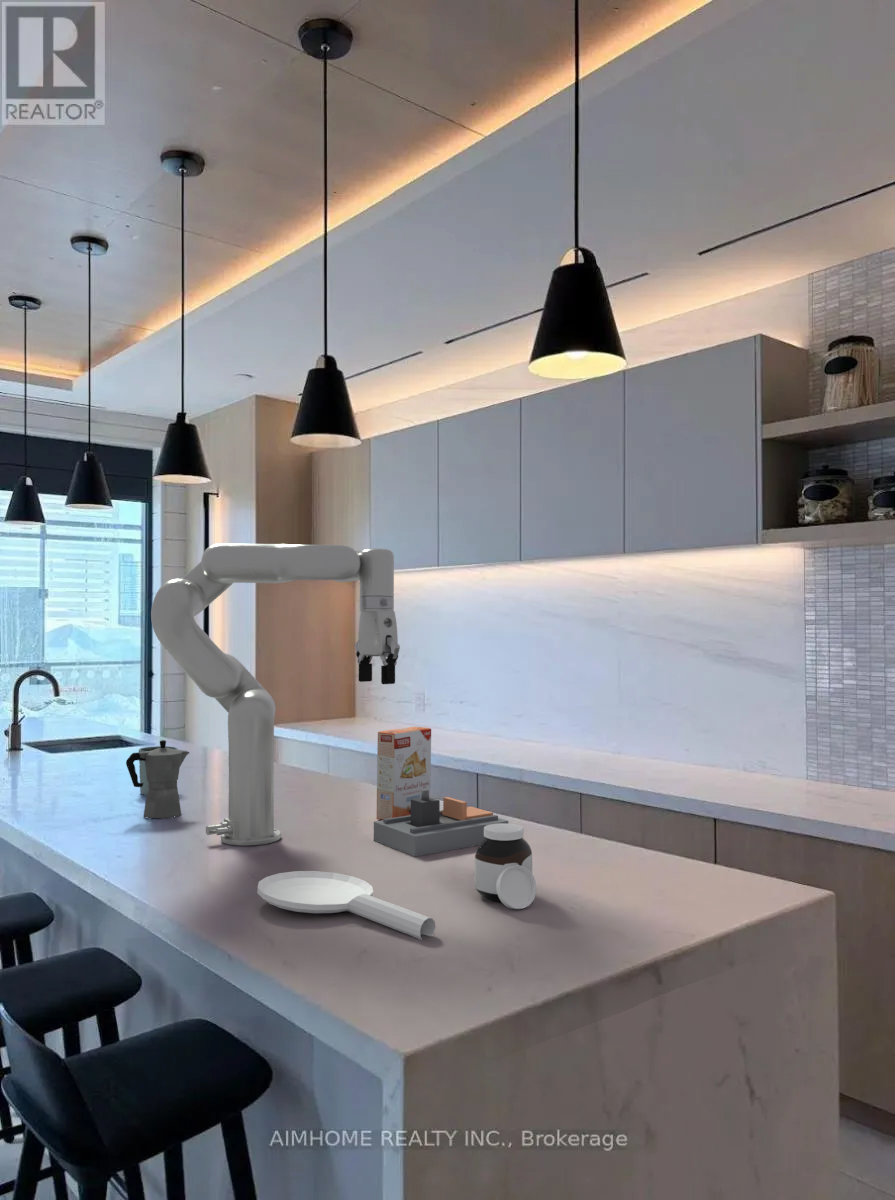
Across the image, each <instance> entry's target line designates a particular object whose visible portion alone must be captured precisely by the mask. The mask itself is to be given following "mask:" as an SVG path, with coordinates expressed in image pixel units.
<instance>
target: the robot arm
mask: <svg viewBox="0 0 895 1200" xmlns="http://www.w3.org/2000/svg"><path fill="white" fill-rule="evenodd" d="M394 558H395V555H394V552H392V550H390V549H387V548H366V549H363V550H355V549H354V548H352V547H351V546H348V545H344V544H343V545H340V544H288V543H240V542H239V543H237V542H236V543H234V542H233V543H231V542H229V543H228V542H223V543H222V542H221V543H214V544H212V545H210V546H208V547H207V548H205V550H204V551H203V554H202V555H201V561H200V562H198V564H197V565H195V566H194V567H193V568H192V569H191V570H189V572H187V573H185V575H184V576H183V577H181V578H173V579H170V580H167V581H166V582H164V583H163V584H162V585H161V586H160V587H159V589H158V590H157V592H156V594H155V596H154V598H153V602H152V605H151V610H150V619H151V625H152V629H153V632H154V634H155V636H156V638H157V640H158V641H159V642H160V644H161V645H162V647H163V648H164V649H165V650H166V651H167V653H168V654H169V655H170V656H171V657H172V658H173V660H175V662H176V663H177V665H179V666H180V668H181V669H182V670H183V671H184V672H185V673H186V675H188V677H189V678H190V679H191V680H192V682H194V684H195V685H196V686H197V687H198V689H200V691H201V692H202V694H204V695H206V696H207V697H210V698H214V699H215V700H216V702H218V703H219V704H220V705H221V707H222V708H223V709H224V710H225V711H226V712H227V713H228V714H227V737H228V817H225V818H223V821H222V822H220V824H212V825H211V824H210V825H206V826H205V833H206V835H207V836H212V835H216V836H220V841H221V843H223V844H226V845H231V846H238V847H239V846H240V847H242V846H246V847H247V846H248V847H249V846H261V845H267V844H272V843H274V842H277V841H278V840H281V837H282V833H281V830H279V829H276V828H275V826H274V824H275V823H274V821H275V820H274V819H275V814H274V813H275V812H274V811H275V809H274V808H275V800H274V799H275V715H276V703H275V700H274V698H273V697H272V696H271V694H270V693H269V692H268V691H267V690H266V689H265V687H264V686H263V685H262V684H261V683H260V682H259V681H258V679H257V678H256V677H254V675H253V674H252V673H251V672H250V671H249V670H248V669H247V668H246V666H244V664H243V663H242V662H241V661H239V660H238V658H236V657H234V656H233V655H231V654H229V653H225V652H224V651H223V650H221V648H219V646H218V645H216V644H215V642H214V641H213V640H212V639H211V637H210V636H209V635H208V634H207V633H206V632H205V631H204V630H203V629H202V628H201V627H200V625H199V624H198V623H197V621H196V619H195V616H197V615H199V614H200V613H201V612H203V611H204V610H205V609H206V608H207V607H208V606H210V605H211V604H212V603H213V602H214V601H216V599H217V598H218V597H220V595H221V596H222V594H223V593H224V592H225V591H227V589H229V588H230V587H231V586H232V585H233V584H235V583H236V584H237V583H238V584H239V583H240V584H241V583H243V584H244V583H245V584H249V583H250V584H284V583H289V582H293V581H312V580H313V581H314V580H315V581H317V580H318V581H320V580H321V581H334V582H338V583H348V582H356V581H359V612H360V613H359V620H358V621H359V622H358V635H357V636H358V637H357V638H358V639H357V641H356V642H355V644H354V648H355V652H356V653H355V655H356V658H357V664H358V682H360V683H364V682H365V683H367V682H373V663H371V662H372V659H373V658H374V657H379V658H380V660H381V662H382V665H380V667H381V669H380V671H381V672H380V675H381V676H380V680H381V681H380V682H381V685H395V684H396V666H397V660H398V658H399V652H400V649H401V646H400V643H399V641H398V639H399V638H398V626H397V624H398V623H397V618H396V612H395V608H394V606H395V605H394V604H395V603H394V602H395V600H394V599H395V597H394V595H395V593H394V591H395V584H394V583H395V578H394V577H395V559H394Z"/></svg>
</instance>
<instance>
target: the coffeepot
mask: <svg viewBox="0 0 895 1200" xmlns="http://www.w3.org/2000/svg"><path fill="white" fill-rule="evenodd" d="M166 745H167V740H165V739H164V740H160V741H159V746H160V747H161V748H158V749H155V750H151V751H148V752H141V753H139V751H138V752H132V753H131V754H130V755H129V756H128V758H127V759H126V762H125V764H126V768H127V770H128V774H129V776H130V779H131V782H132V785H133V787H135V788H140V787H142V786H143V783H140V781H138V780H139V779H138V778H139V776H138V774H137V772H136V765H135V764H134V762H136V761H139V760H140V761H145V768H146V775H147V781H148V791H147V795H146V798H145V805H144V811H143V817H144V818H145V817H148V818H147V819H149V818H166V819H171V818H170V817H173V818H175V817H174V816H177V817H179V816H181V814H182V810H181V809H182V808H181V803H180V796H179V790H178V789H179V788H178V780H179V774H180V767H182V764H183V762H184V761H185V759H186V757H187V756H188V755H189V754H190V752H189V751H188V750H182V749H178V750H176V749H170V748H165V746H166ZM178 815H179V816H178Z"/></svg>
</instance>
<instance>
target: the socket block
mask: <svg viewBox="0 0 895 1200" xmlns="http://www.w3.org/2000/svg"><path fill="white" fill-rule="evenodd" d="M442 811H443V809H442V810H440V824H435V825H429V826H423V827H415V826H412V825H411V815H408V816H402V817H395V818H388V819H383V820H375V821H373V842H374V841H375V842H376V843H380V844H381V845H384V846H387V847H390V848H391V849H395V850H396V851H397V850H398V851H400V852H402V853H405V854H406V855H410V856H412V857H414V858H415V857H421V856H425V855H430V854H437V853H441V852H448V851H453V850H458V849H464V848H465V849H466V848H470V847H475V846H479V844H480V843H481V842H482V840H483V839H484V838H485V837H484V827H485V826H487V825H490V824H499V823H506V824H509V820H507V819H503V818H499V815H496V814H493V815H492V816H485V817H479V818H473V819H467V820H458V819H455V818H452V817H448V816H445V815H442Z"/></svg>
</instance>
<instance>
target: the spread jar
mask: <svg viewBox="0 0 895 1200" xmlns="http://www.w3.org/2000/svg"><path fill="white" fill-rule="evenodd" d="M524 835H525V831H524V827H523V826H521V825H518V824H514V823H508V824H506V823H499V824H490V825H487V826H485V827H484V837H485V838H484V839H483V840H482V842H481V843H480V844H479V845H477V849H476V851H475V855H474V886H475V889H476V892H477V893H478V894H479V895H480V896H481V897H482V898H483V899H485V900H487V901H490V902H493V903H500V904H501V903H502V904H503V905H504V906H506V908H508V909H512V910H520V909H521V910H522V909H525V908H527V907H529V906H530V905H531V904H532V903H533V902H534V900H535V897H536V894H537V882H536V878H535V876H534V875H533V852H532V847H531V846H530V844H529V843H528V841H526V840H525V838H524Z"/></svg>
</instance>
